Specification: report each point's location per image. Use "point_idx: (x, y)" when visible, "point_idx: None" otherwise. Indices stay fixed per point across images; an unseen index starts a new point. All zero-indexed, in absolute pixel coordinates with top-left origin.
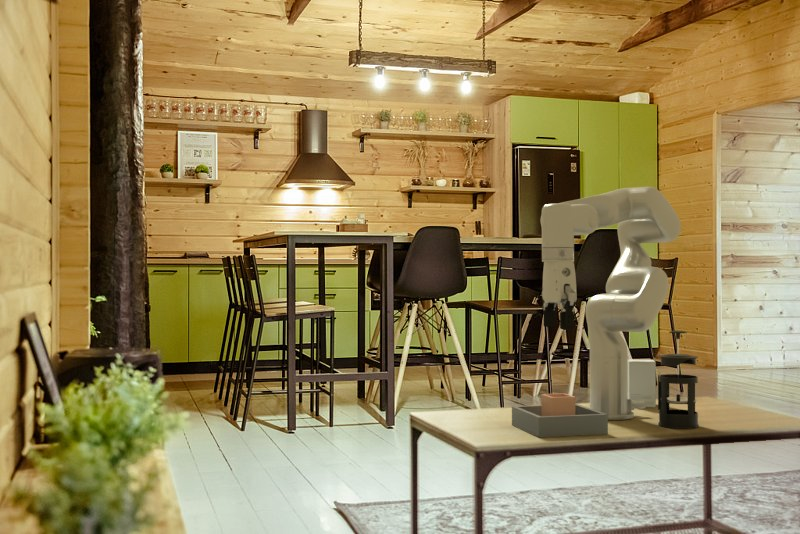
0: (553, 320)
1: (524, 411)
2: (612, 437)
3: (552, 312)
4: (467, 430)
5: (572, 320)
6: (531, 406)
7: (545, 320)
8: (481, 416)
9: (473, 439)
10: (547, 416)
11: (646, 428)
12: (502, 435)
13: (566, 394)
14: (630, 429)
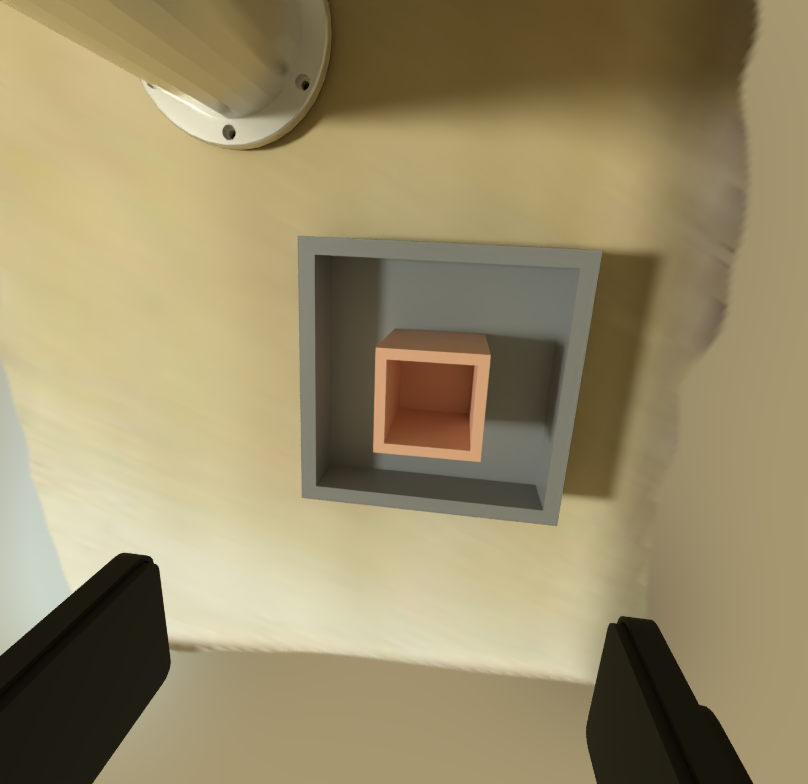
0: (114, 642)
1: (421, 510)
2: (644, 268)
3: (14, 764)
4: (373, 611)
5: (699, 729)
6: (315, 434)
7: (128, 730)
8: (156, 484)
9: (503, 650)
10: (552, 491)
11: (531, 19)
12: (476, 564)
13: (412, 357)
14: (527, 106)
